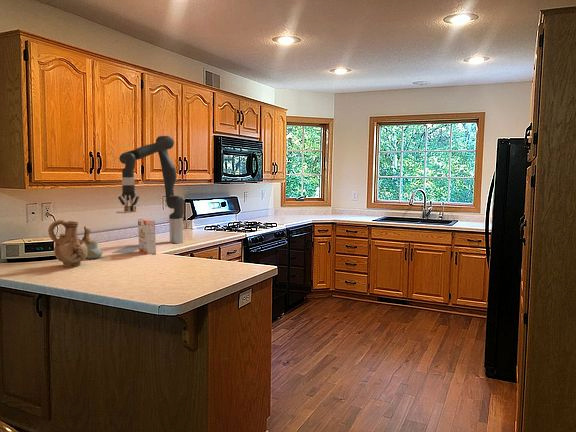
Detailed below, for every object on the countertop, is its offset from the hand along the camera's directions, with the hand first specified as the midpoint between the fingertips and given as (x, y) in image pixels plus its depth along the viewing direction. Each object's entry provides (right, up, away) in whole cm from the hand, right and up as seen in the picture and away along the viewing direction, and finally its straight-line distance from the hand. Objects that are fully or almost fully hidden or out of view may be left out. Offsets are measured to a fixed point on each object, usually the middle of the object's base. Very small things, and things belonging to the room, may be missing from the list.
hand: (129, 211), depth 301 cm
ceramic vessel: (-13, -30, -49) cm, 59 cm away
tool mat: (0, -25, 0) cm, 25 cm away
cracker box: (+14, -26, -10) cm, 32 cm away
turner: (0, -1, -2) cm, 2 cm away
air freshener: (-12, -28, -27) cm, 41 cm away
